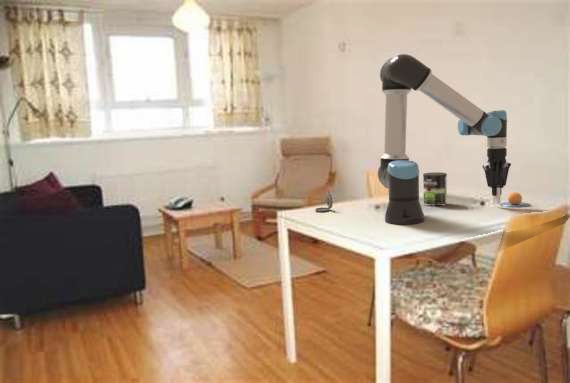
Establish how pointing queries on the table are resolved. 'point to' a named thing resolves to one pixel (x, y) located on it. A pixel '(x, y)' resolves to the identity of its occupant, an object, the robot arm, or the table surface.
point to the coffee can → (435, 188)
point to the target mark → (515, 205)
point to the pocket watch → (329, 204)
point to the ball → (515, 198)
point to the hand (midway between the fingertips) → (496, 203)
